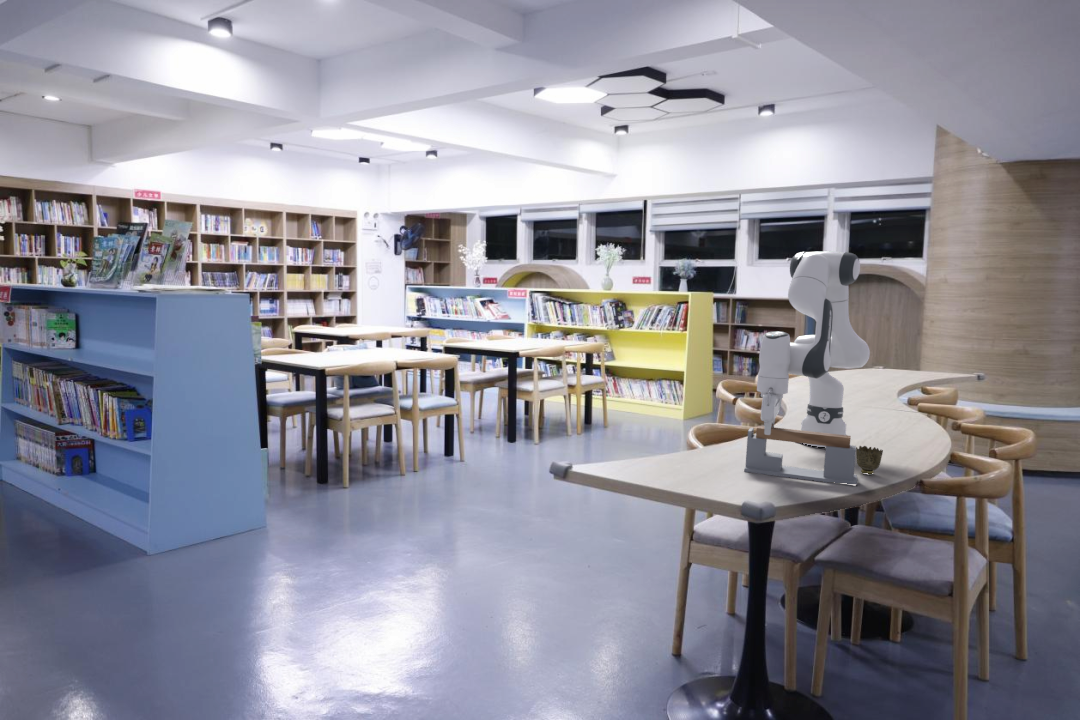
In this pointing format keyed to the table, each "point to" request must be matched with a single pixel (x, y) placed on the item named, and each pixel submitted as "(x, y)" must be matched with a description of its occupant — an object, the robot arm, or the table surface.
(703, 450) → the table surface
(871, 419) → the table surface
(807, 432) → the walnut bar
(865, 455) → the cup
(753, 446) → the notched stand
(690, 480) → the table surface
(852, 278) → the robot arm
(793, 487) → the table surface
